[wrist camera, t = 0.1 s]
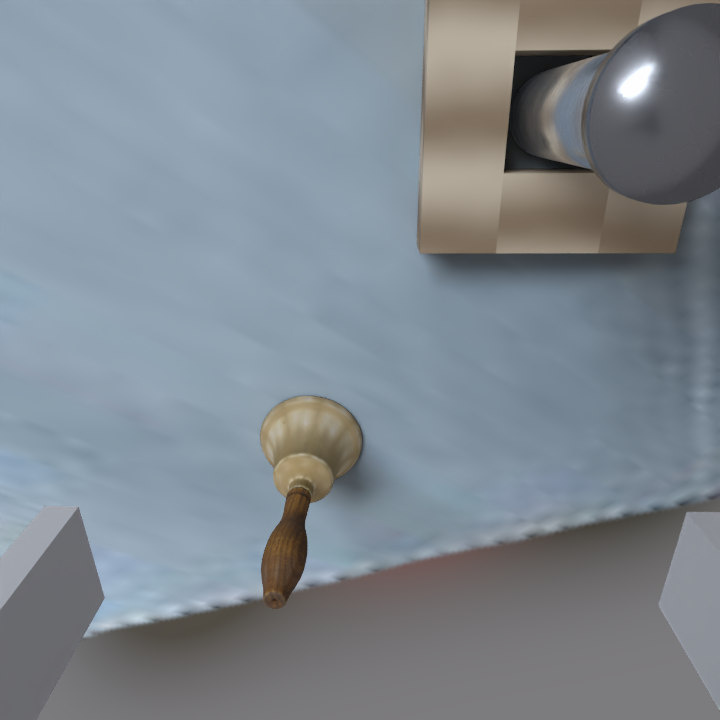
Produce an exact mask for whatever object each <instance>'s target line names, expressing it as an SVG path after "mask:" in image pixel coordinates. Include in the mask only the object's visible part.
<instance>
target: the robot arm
mask: <svg viewBox="0 0 720 720" xmlns="http://www.w3.org/2000/svg"><path fill="white" fill-rule="evenodd" d="M104 598H105V597H104V594H103V590H102V587H101V583H100V580H99V576H98V573H97V569H96V566H95V562H94V559H93V555H92V552H91V549H90V545H89V542H88V538H87V535H86V531H85V528H84V524H83V521H82V517H81V514H80V510H79V507H60V506H44V507H43V508H42V510H41V511H40V512H39V513H38V514H37V515H36V517H35V518H34V519H33V520H32V521H31V522H30V524H29V525H28V526H27V527H26V528H25V530H24V531H23V532H22V533H21V534H20V535H19V537H18V538H17V539H16V540H15V541H14V543H13V544H12V545H11V546H10V547H9V548H8V550H7V551H6V552H5V553H4V554H3V556H2V557H1V558H0V720H37V718H38V716H39V714H40V712H41V711H42V709H43V707H44V705H45V704H46V702H47V700H48V698H49V696H50V695H51V693H52V691H53V689H54V687H55V686H56V684H57V682H58V680H59V679H60V677H61V675H62V673H63V671H64V670H65V668H66V666H67V664H68V662H69V661H70V659H71V657H72V655H73V653H74V652H75V650H76V648H77V646H78V644H79V643H80V641H81V639H82V637H83V636H84V634H85V632H86V630H87V629H88V627H89V625H90V623H91V621H92V620H93V618H94V616H95V614H96V613H97V611H98V609H99V607H100V605H101V604H102V602H103V600H104ZM658 606H659V607H660V609H661V611H662V612H663V614H664V616H665V618H666V619H667V621H668V623H669V625H670V626H671V628H672V630H673V631H674V633H675V635H676V637H677V638H678V640H679V642H680V644H681V645H682V647H683V649H684V651H685V652H686V654H687V656H688V657H689V659H690V661H691V663H692V664H693V666H694V668H695V669H696V671H697V673H698V675H699V676H700V678H701V680H702V682H703V683H704V685H705V687H706V688H707V690H708V692H709V694H710V695H711V697H712V699H713V700H714V702H715V704H716V706H717V707H718V709H719V711H720V512H687V513H686V516H685V520H684V523H683V527H682V530H681V533H680V536H679V539H678V543H677V546H676V549H675V552H674V556H673V559H672V562H671V565H670V569H669V572H668V575H667V579H666V582H665V585H664V588H663V592H662V595H661V598H660V601H659V605H658Z"/></svg>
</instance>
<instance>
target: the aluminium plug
mask: <svg viewBox="0 0 720 720" xmlns="http://www.w3.org/2000/svg"><path fill="white" fill-rule="evenodd" d="M510 129H511V133H512V135H513V138H514V140H515V141H516V143H517V144H518V146H519V147H520V148H521V149H523V150H524V151H525V152H527V153H529V154H531V155H533V156H537V157H541V158H545V159H549V160H554V161H558V162H562V163H566V164H571V165H575V166H579V167H583V168H588V169H592V170H593V171H594V173H595V174H596V176H597V177H598V178H599V179H600V180H601V181H602V182H603V183H604V184H605V185H606V186H607V187H609V188H610V189H611V190H613V191H614V192H616V193H618V194H620V195H622V196H625V197H627V198H630V199H633V200H636V201H640V202H643V203H648V204H653V205H674V204H680V203H685V202H689V201H692V200H695V199H698V198H701V197H703V196H705V195H707V194H709V193H711V192H713V191H715V190H716V189H718V188H720V4H717V3H701V4H693V5H689V6H684V7H681V8H678V9H675V10H672V11H670V12H667V13H664V14H662V15H659V16H656V17H654V18H652V19H650V20H648V21H646V22H644V23H642V24H641V25H639V26H638V27H636V28H635V29H634V30H632V31H631V32H629V33H628V34H627V35H626V36H625V37H624V38H622V39H621V40H620V41H619V42H618V43H617V44H616V45H615V46H614V48H613V49H612V50H611V51H610V52H608V53H605V54H601V55H598V56H594V57H591V58H587V59H584V60H580V61H577V62H574V63H570V64H567V65H563V66H560V67H556V68H553V69H549V70H546V71H543V72H540V73H538V74H536V75H534V76H533V77H532V78H530V79H529V80H528V81H527V82H525V83H524V85H523V86H522V87H521V88H520V90H519V91H518V92H517V94H516V96H515V98H514V100H513V103H512V106H511V110H510Z"/></svg>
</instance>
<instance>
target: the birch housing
mask: <svg viewBox="0 0 720 720" xmlns="http://www.w3.org/2000/svg"><path fill="white" fill-rule="evenodd" d="M701 3H717V4H720V0H426V1H425V29H424V56H423V84H422V112H421V140H420V168H419V196H418V224H417V246H418V249H419V252H420V253H676V249H677V244H678V240H679V236H680V232H681V227H682V223H683V219H684V214H685V210H686V206H687V202H685V203H680V204H674V205H653V204H648V203H643V202H640V201H636V200H633V199H630V198H627V197H625V196H622V195H620V194H618V193H616V192H614V191H613V190H611V189H610V188H609V187H607V186H606V185H605V184H604V183H603V182H602V181H601V180H600V179H599V178H598V177H597V176H596V174H595V173H594V171H593V170H592V169H504V164H505V154H506V143H507V133H508V123H509V112H510V102H511V92H512V81H513V71H514V61H515V56H580V55H601V54H605V53H608V52H610V51H611V50H612V49H613V48H614V46H615V45H616V44H617V43H618V42H619V41H620V40H621V39H622V38H624V37H625V36H626V35H627V34H628V33H629V32H631V31H632V30H634V29H635V28H636V27H638V26H639V25H641V24H642V23H644V22H646V21H648V20H650V19H652V18H654V17H656V16H659V15H662V14H664V13H667V12H670V11H672V10H675V9H678V8H681V7H684V6H689V5H693V4H701Z"/></svg>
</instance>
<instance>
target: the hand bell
mask: <svg viewBox="0 0 720 720" xmlns="http://www.w3.org/2000/svg"><path fill="white" fill-rule="evenodd" d="M260 441H261V446H262V450H263V452H264V454H265V456H266V458H267V460H268V461H269V463H270V464H271V465H272V466H273V467H274V472H273V478H274V483H275V486H276V488H277V489H278V491H279V492H280V493H281V494H282V495H283V496H284V497H286V502H285V507H284V513H283V517H282V519H281V521H280V523H279V524H278V525H277V526H276V528H275V529H274V531H273V532H272V534H271V536H270V538H269V540H268V542H267V545H266V547H265V550H264V554H263V558H262V565H261V574H262V584H263V601H264V603H265V605H266V606H268V607H270V608H273V609H279V608H282V607H283V606H284V605H285V604H286V602H287V599H288V597H289V596H290V594H291V592H292V591H293V590H294V588H295V587H296V585H297V583H298V582H299V580H300V578H301V576H302V573H303V571H304V567H305V563H306V557H307V535H306V530H305V519H306V516H307V512H308V508H309V504H310V503H312V502H316V501H319V500H321V499H322V498H324V497H325V496H326V495H327V494H328V493H329V492H330V490H331V489H332V486H333V483H334V480H335V479H337V478H339V477H340V476H342V475H344V474H345V473H346V472H347V471H349V470H350V469H351V468H352V466H353V465H354V464H355V463H356V461H357V459H358V457H359V455H360V452H361V448H362V435H361V431H360V428H359V425H358V424H357V422H356V420H355V419H354V417H353V416H352V415H351V414H350V412H348V411H347V410H346V409H345V408H344V407H343V406H341V405H339V404H338V403H336V402H334V401H332V400H329V399H326V398H322V397H317V396H299V397H294V398H291V399H288V400H286V401H284V402H282V403H280V404H278V405H277V406H275V407H274V408H273V409H272V410H271V411H270V412H269V414H268V415H267V416H266V418H265V420H264V422H263V424H262V428H261V433H260Z"/></svg>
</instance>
